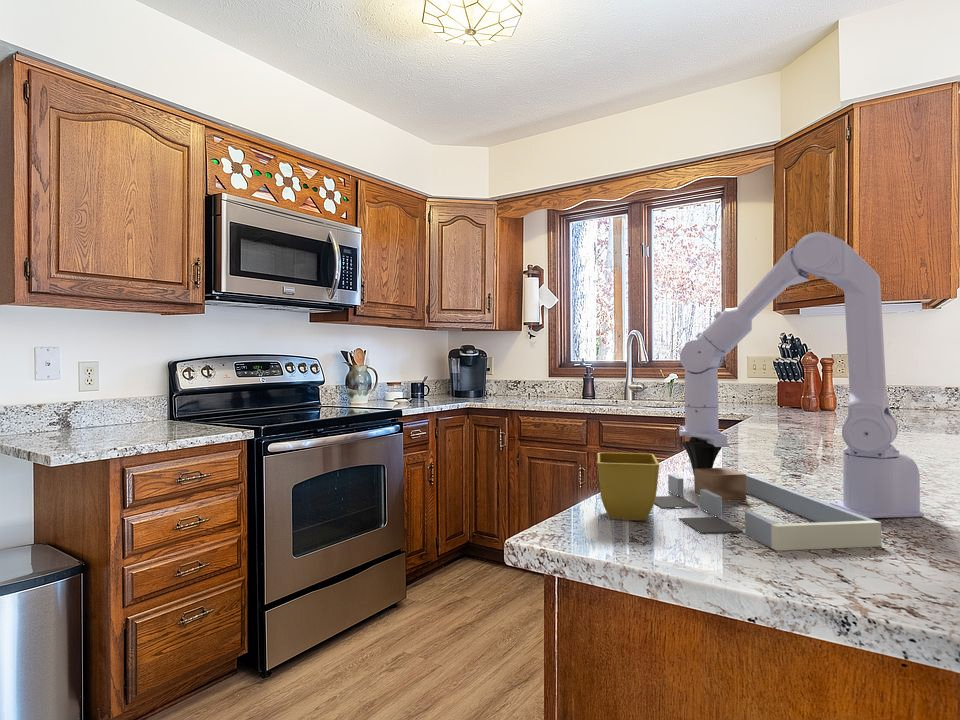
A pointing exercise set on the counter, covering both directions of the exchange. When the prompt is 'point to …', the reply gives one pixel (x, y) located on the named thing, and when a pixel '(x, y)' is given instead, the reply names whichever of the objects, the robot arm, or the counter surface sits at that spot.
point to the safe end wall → (825, 535)
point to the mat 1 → (672, 502)
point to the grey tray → (775, 495)
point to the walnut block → (721, 483)
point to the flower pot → (628, 484)
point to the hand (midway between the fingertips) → (702, 480)
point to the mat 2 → (710, 525)
